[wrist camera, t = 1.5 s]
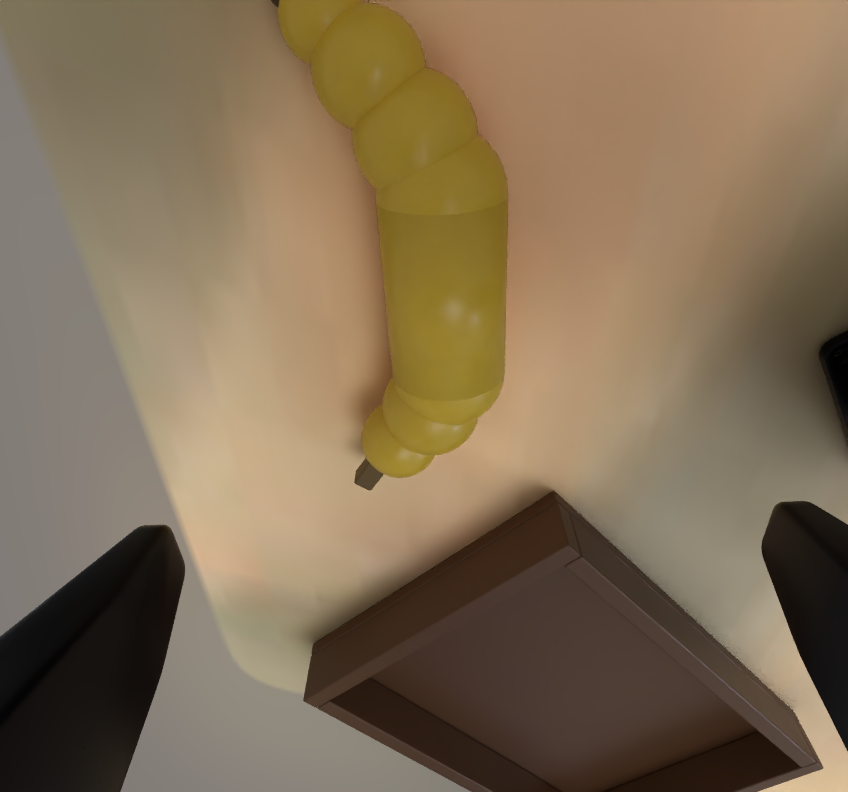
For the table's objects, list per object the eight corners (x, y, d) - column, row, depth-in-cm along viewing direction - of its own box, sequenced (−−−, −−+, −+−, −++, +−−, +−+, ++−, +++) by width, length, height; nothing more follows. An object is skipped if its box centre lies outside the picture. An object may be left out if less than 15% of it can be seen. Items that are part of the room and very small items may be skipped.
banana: (496, 457, 22) (507, 523, 19) (348, 463, 22) (336, 529, 19) (503, -57, 14) (524, -76, 11) (267, -41, 14) (227, -55, 11)
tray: (794, 711, 31) (824, 768, 29) (573, 798, 37) (583, 853, 34) (553, 490, 23) (568, 544, 21) (312, 643, 28) (302, 701, 26)
